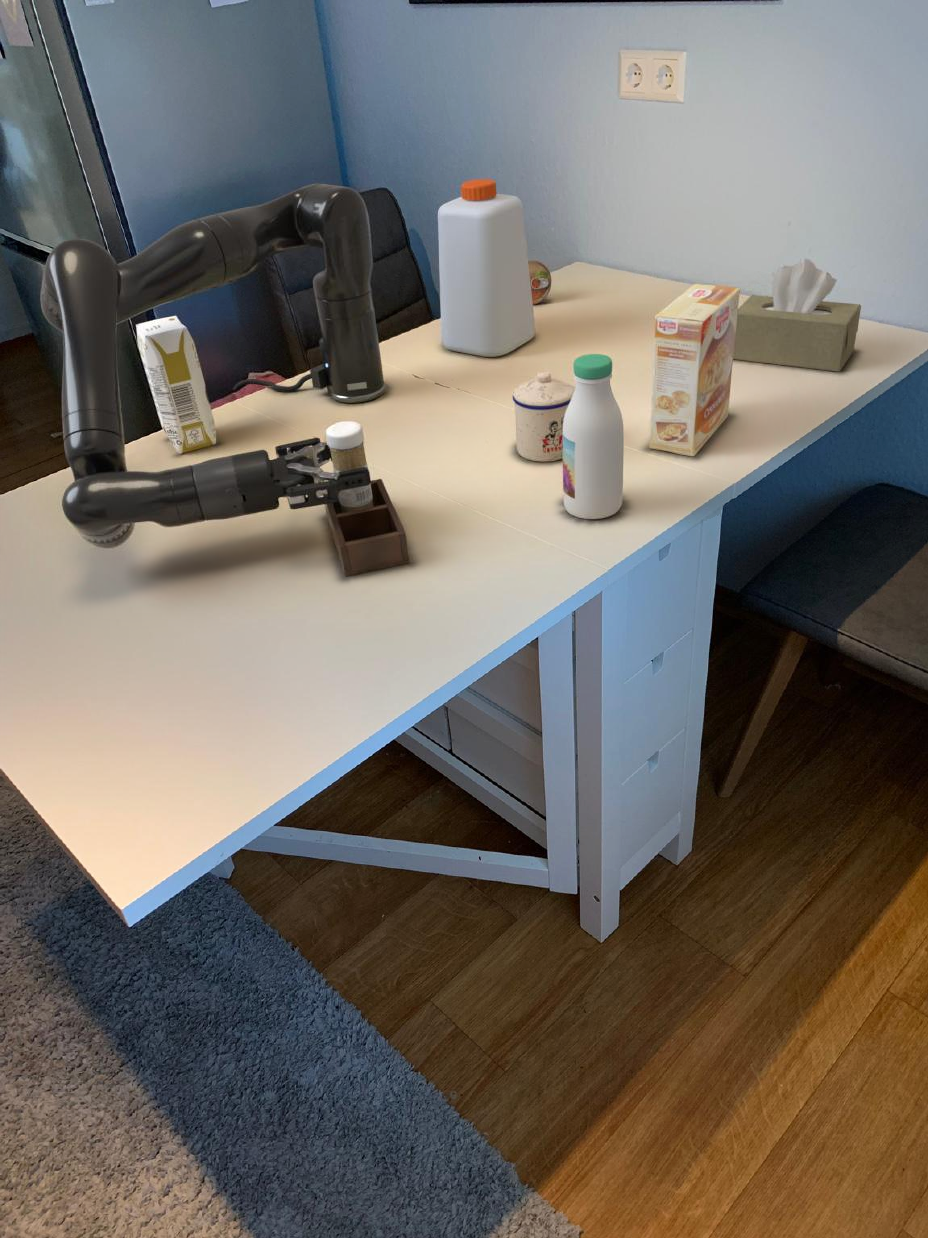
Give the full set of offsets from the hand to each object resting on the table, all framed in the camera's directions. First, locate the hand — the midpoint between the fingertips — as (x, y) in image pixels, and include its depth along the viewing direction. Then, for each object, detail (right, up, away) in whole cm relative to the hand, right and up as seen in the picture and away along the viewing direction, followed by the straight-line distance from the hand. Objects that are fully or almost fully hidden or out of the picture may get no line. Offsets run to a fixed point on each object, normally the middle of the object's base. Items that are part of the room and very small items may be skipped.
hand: (363, 461), depth 119 cm
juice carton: (-31, +8, +32) cm, 45 cm away
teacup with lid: (+26, +5, +20) cm, 33 cm away
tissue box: (+69, +25, +41) cm, 84 cm away
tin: (+24, +45, +75) cm, 91 cm away
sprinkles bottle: (-1, -7, +5) cm, 9 cm away
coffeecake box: (+46, +7, +20) cm, 51 cm away
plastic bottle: (+18, +32, +58) cm, 68 cm away
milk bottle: (+30, -5, +5) cm, 31 cm away
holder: (0, -10, +2) cm, 10 cm away
